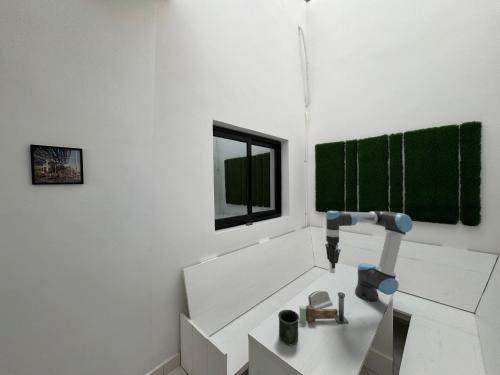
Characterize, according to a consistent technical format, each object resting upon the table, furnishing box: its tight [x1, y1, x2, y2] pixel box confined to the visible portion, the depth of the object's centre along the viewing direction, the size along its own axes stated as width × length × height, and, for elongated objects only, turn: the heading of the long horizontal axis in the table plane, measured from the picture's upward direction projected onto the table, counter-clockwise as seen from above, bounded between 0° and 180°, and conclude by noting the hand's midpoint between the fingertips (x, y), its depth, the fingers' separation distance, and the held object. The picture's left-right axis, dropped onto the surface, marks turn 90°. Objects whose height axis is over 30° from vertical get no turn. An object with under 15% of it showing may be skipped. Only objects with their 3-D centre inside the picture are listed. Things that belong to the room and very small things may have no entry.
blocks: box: [299, 305, 307, 323], centre depth 121 cm, size 6×6×8 cm
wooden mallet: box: [306, 304, 338, 324], centre depth 119 cm, size 18×4×8 cm, turn 92°
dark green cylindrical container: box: [277, 309, 300, 346], centre depth 107 cm, size 11×15×12 cm
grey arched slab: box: [307, 290, 333, 309], centre depth 135 cm, size 17×5×10 cm, turn 115°
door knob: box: [335, 291, 350, 325], centre depth 120 cm, size 6×6×16 cm
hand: (332, 272), depth 126 cm, fingers closed
